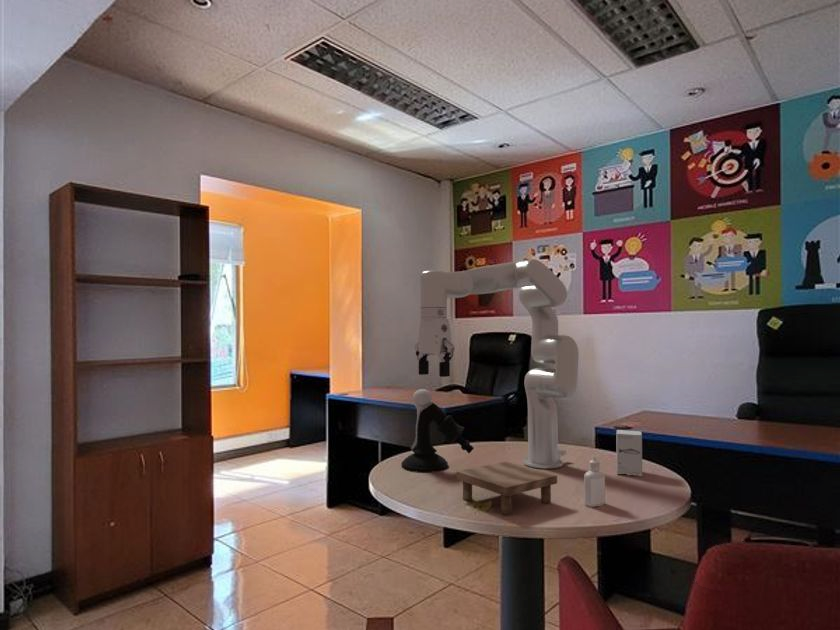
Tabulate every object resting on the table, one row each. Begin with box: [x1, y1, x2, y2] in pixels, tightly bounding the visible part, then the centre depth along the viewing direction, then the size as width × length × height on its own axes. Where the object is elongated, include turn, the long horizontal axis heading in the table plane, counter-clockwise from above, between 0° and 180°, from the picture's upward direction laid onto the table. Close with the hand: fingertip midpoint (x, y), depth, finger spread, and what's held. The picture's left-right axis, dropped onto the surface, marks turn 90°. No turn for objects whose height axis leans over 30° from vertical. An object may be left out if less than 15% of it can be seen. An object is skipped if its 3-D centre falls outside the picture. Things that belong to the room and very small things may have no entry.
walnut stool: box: [456, 461, 558, 517], centre depth 132 cm, size 18×18×7 cm
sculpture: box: [401, 388, 475, 473], centre depth 168 cm, size 15×24×25 cm, turn 76°
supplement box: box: [615, 429, 643, 476], centre depth 159 cm, size 7×7×13 cm
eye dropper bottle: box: [583, 455, 606, 508], centre depth 129 cm, size 4×6×12 cm
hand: (433, 375), depth 145 cm, fingers open, 9 cm apart
